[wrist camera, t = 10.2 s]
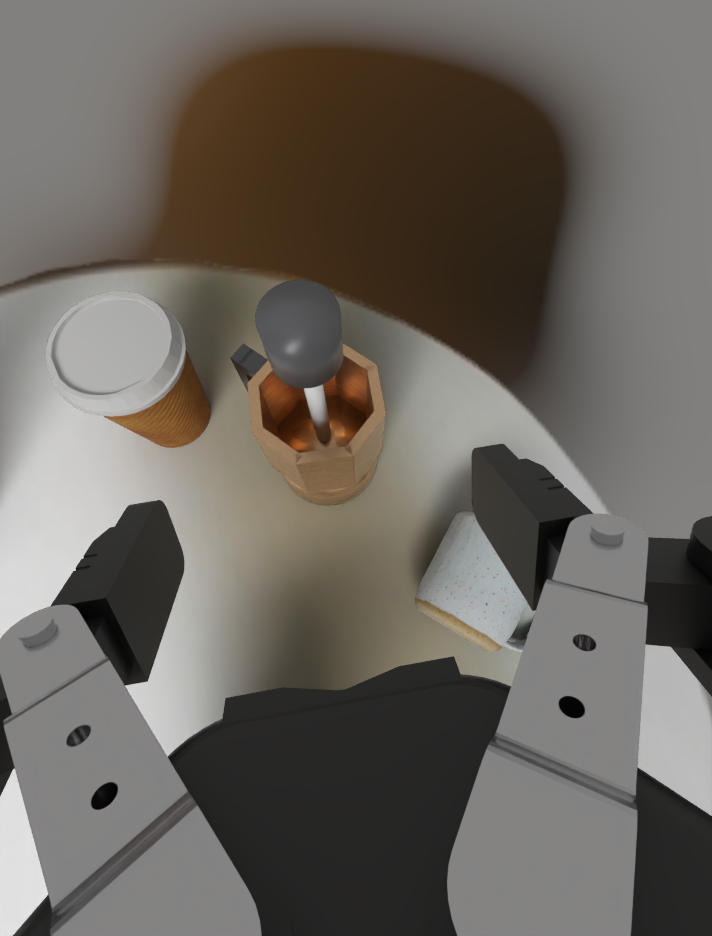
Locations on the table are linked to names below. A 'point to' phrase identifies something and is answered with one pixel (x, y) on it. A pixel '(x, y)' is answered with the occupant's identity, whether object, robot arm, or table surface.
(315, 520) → the table surface
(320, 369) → the plunger
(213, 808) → the robot arm
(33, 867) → the table surface
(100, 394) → the disposable coffee cup
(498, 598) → the ceramic mug
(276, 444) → the wooden pitcher
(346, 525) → the table surface
